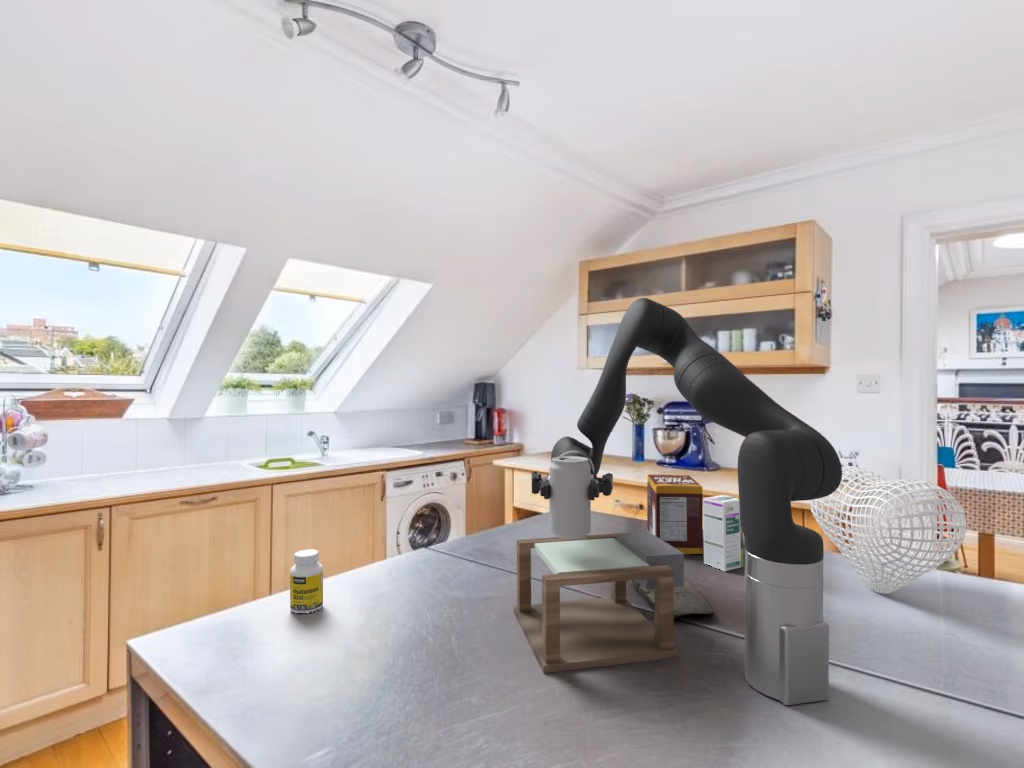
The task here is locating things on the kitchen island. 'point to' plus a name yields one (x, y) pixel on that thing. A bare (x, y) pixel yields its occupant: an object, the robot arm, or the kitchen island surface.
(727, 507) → the syrup box
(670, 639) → the wooden rack
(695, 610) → the stone slab
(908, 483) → the heart
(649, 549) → the trapdoor plate
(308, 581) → the supplement bottle
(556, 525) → the beverage can
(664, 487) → the supplement box
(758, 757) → the kitchen island surface
